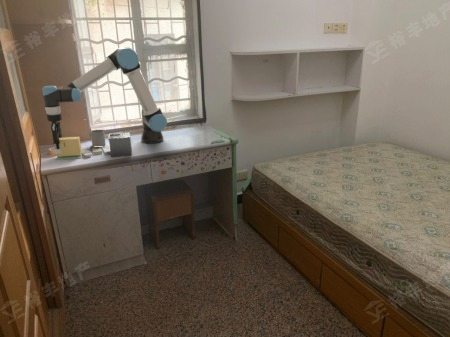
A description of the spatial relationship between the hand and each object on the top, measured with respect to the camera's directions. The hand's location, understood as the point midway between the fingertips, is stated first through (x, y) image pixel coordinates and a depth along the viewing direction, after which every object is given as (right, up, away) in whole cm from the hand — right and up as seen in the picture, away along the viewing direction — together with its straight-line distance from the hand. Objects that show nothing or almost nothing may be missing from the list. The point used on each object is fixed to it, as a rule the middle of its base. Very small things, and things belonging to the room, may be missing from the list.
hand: (60, 152), depth 211 cm
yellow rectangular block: (+5, -1, +2) cm, 5 cm away
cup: (+15, +5, +24) cm, 28 cm away
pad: (+5, -3, +2) cm, 6 cm away
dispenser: (+34, 0, +9) cm, 35 cm away
